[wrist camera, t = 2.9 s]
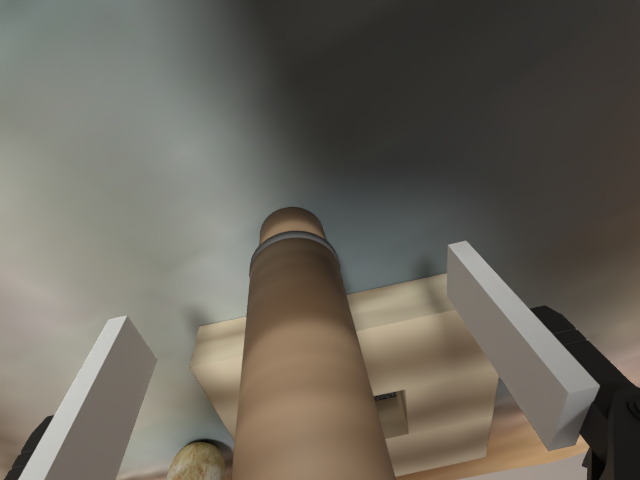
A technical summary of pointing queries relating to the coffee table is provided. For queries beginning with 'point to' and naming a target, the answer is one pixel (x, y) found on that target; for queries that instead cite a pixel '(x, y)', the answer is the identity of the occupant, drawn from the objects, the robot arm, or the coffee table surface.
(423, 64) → the coffee table surface
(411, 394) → the board
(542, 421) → the robot arm
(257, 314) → the peg
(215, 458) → the decorative mushroom
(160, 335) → the coffee table surface
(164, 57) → the coffee table surface
